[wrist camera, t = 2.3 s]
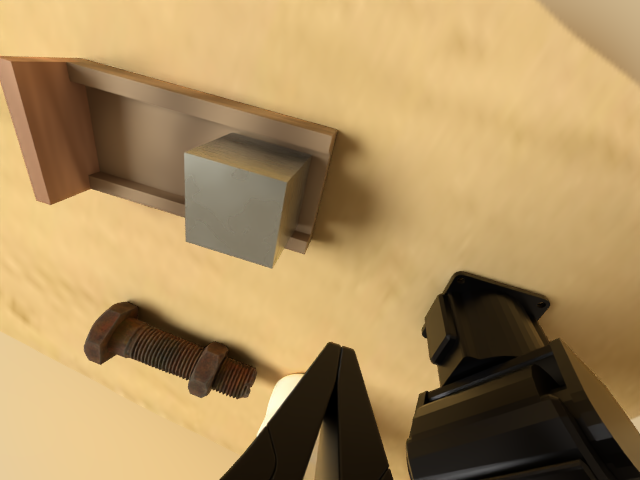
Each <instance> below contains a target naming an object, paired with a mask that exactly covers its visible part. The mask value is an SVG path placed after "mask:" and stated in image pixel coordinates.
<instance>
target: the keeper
mask: <svg viewBox="0 0 640 480" xmlns="http://www.w3.org/2000/svg"><path fill="white" fill-rule="evenodd" d="M311 157H312V155H310V154H307V153H303V152H300V151H296V150H293V149H289V148H286V147H282V146H279V145H275V144H272V143H268V142H265V141H261V140H258V139H254V138H251V137H247V136H244V135H240V134H237V133H233V132H232V133H230V134H227V135H225V136H222V137H220V138H218V139H215V140H213V141H210V142H208V143H206V144H203V145H201V146H198V147H196V148H194V149H191V150H189V151H186V152H184V172H185V228H186V242H189V243H192V244H195V245H198V246H202V247H205V248H208V249H211V250H214V251H218V252H221V253H224V254H227V255H230V256H234V257H237V258H240V259H243V260H246V261H250V262H253V263H256V264H259V265H262V266H266V267H269V268H273V266H274V265H275V263H276V261H277V260H278V258H279V256H280V255H281V253H282V251H283V250H284V248H285V246H286V244H287V243H288V241H289V239H290V238H291V236H292V234H293V233H294V231H295V229H296V228H297V225H298V220H299V215H300V210H301V205H302V201H303V196H304V191H305V186H306V181H307V177H308V172H309V167H310V162H311Z"/></svg>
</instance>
